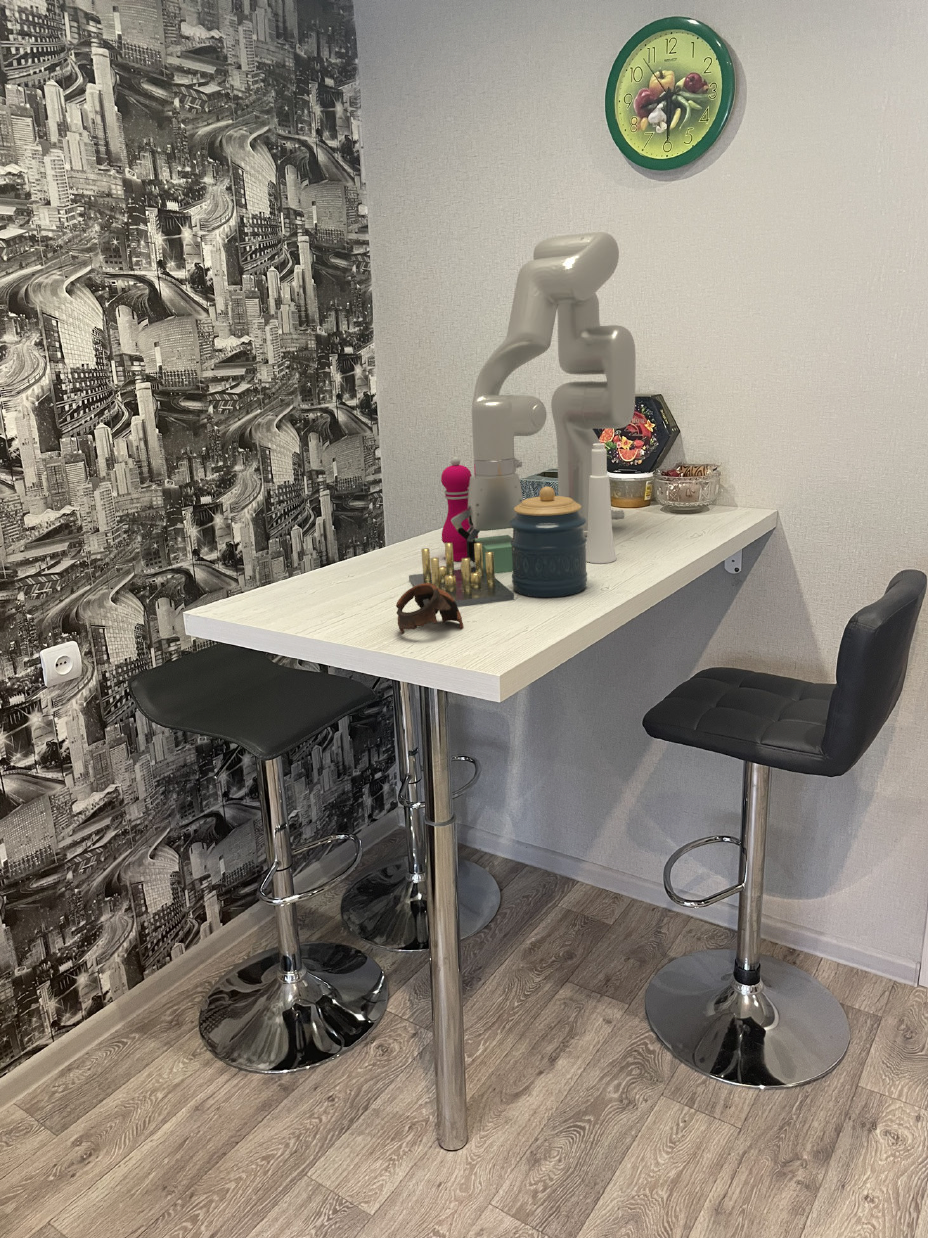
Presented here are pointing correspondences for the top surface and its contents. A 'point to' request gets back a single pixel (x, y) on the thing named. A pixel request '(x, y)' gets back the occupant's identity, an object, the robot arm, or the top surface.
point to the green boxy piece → (498, 552)
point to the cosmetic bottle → (599, 511)
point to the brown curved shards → (427, 607)
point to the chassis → (463, 577)
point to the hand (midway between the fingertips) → (498, 558)
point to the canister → (548, 546)
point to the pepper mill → (456, 505)
